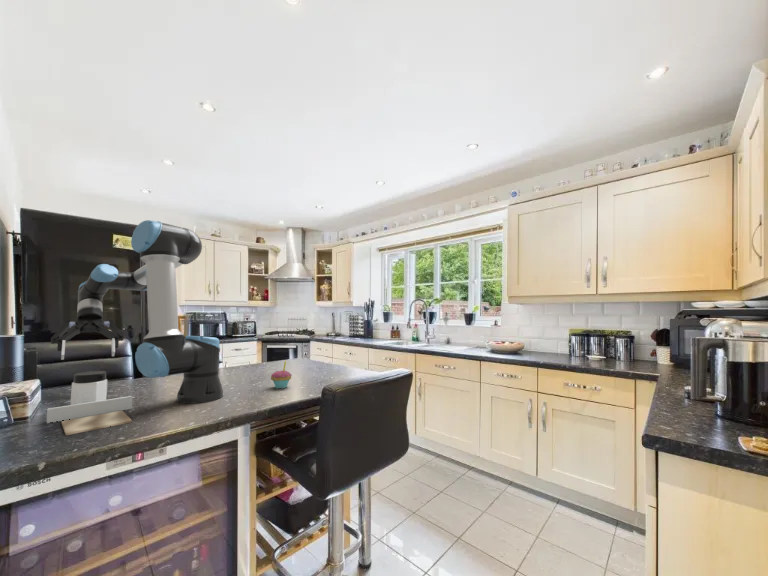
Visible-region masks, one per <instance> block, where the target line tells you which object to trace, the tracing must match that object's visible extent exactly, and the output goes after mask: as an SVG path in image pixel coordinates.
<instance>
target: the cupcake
mask: <svg viewBox="0 0 768 576" xmlns="http://www.w3.org/2000/svg"><path fill="white" fill-rule="evenodd" d="M286 365H287V360H285V361H284V363H283V370H276V371H274V372H273V373H272V374H271V375H270V380H271V381H272V382H273V384H274V388H275V389H278V388H282V389H286V388H288V384H289V383H290V380H291V379H292V376H293V375H292V374H291V373H290V372H289V371H287V370H286ZM285 387H286V388H285Z"/></svg>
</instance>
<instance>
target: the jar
mask: <svg viewBox="0 0 768 576" xmlns="http://www.w3.org/2000/svg"><path fill="white" fill-rule="evenodd" d="M70 389H71V390H70V391H71V393H70V404H69V405H75V404H81V403H88V402H94V401H101V400H107V393H108V379H107V371H105V370H94V371H93V370H92V371H83V372H77V373H75V374H73V382H71V388H70Z"/></svg>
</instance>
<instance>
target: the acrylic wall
mask: <svg viewBox="0 0 768 576" xmlns="http://www.w3.org/2000/svg"><path fill="white" fill-rule="evenodd" d="M132 409H133V395H129V396H123V397H121V396H120V397H116V398H110V399H106V400H101V401H94V402H88V403H81V404H75V405H70V404H68V405H63V406H62V405H61V406H56V407H48V408H47V412H46V422H47V423H46V424H51V423H50V422H53V423H57V422H56V421H58V422H62V420H64V421H66V420H69V419H70V420H72V419H77V418H83V417H89V416H95V415H100V414H106V413H112V412H117V411H125V410H126V411H127V410H132Z"/></svg>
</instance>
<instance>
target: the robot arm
mask: <svg viewBox="0 0 768 576" xmlns="http://www.w3.org/2000/svg"><path fill="white" fill-rule="evenodd" d="M130 245H131V248H132V250H133V251H134V252H136V253H139V255H140V257H139V259H140V261H141V262H143V263H144V265H143V266H140V268H138V269H136V270H135V271H133V272H129V271H120V270H118V269H117V267H115V266H113V265H110V264H108V263H101V264H97V265H96V267H94V269H92V271H91V272H90V275H89V276H88V279H87V280H86V281H83V282H82V283H80V285H79V286H78V290H77V308H76V309H77V311H76V312H77V313H76V321H71V320H70V319H66V320H65V321H64V324H63V325H62V326H61V327H60V329H59V328H58V330H57V331H56V332H55V333H54V334H53V335H52V336H51V337H50V344H53V345H54V344H56V345H57V348H56V349H57V352H61V356H60V360H61V361H62V360H64V361H65V354H66V353H65V352H66V350H65V349H66V343H67V341H70V340H71V339H72V338H74V337H75V336H76V335H79V334H81V333H95V332H96V333H99V334H101V335H103V336H105V338H108V339H109V340H111V357H115V356H116V355H115V354H116V349H118V348H119V345H120V343H119V342H120V341H121V342H122V341H124V339H125V334H124V333H123V332H122V331H121V329H119V327H117V326H116V325H115V323H114V319H109V320H107V321H104V319H103V318H104V316H103V315H104V314H103V313H104V311H103V300H104V299H103V298H104V296H105V295H106V293H107V292H108V291H109V290H126V291H127V290H128V291H139V292H142V291H146V296H147V320H148V321H147V322H148V333H147V334H146V335H145V336H144V337H143V342H142V343H141V344H139V345H138V346H137V348H136V351H135V355H134V358H135V359H134V360H135V365H136V367H137V370H138V371H139V372H140V373H141V374H142V375H143V376H144V377H147V378H148V379H149V378H150V379H155V378H165V377H169V376H174V375H179V374H180V375H181V374H183V379H182V381H181V384H180V385H179V386H180V387H179V389H178V392H177V394H176V402H178V403H180V404H199V403H201V404H202V403H205V402H206V403H208V402H213V401H216V400H219V399H220V398H223V396H224V389H223V386H222V382H221V379H220V376H219V375H220V372H219V371H220V370H219V369H220V350H221V347H220V339H219V338H217V337H213V336H202V335H201V336H200V335H186V336H185V335H184V333H183V332H182V331H180V329H179V312H178V293H177V277H176V276H177V275H176V269H178V268H179V267H181V266H182V265H188V264H189V265H190V264H191V263H192V262H194V261H195V260H197V258H199V256H200V254H201V253H202V250H203V244H202V240H201V238H200V237H199V235H198V234H197V233H196V232H194V231H193V230H191V229H189V228H186V227H181V226H177V225H173V224H168V223H164V222H161V221H159V220H158V221H155V220H148V219H147V220H143V221H141V222H139V223H138V224H137V226H136V227H135V229H134V230H133V233H132V236H131V240H130ZM105 326H106V327H107V328H109V329H107V328H106V327H105ZM72 327H74V328H72ZM71 328H72V329H71ZM69 329H71V330H70V331H68V330H69ZM67 331H68V332H67Z"/></svg>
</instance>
